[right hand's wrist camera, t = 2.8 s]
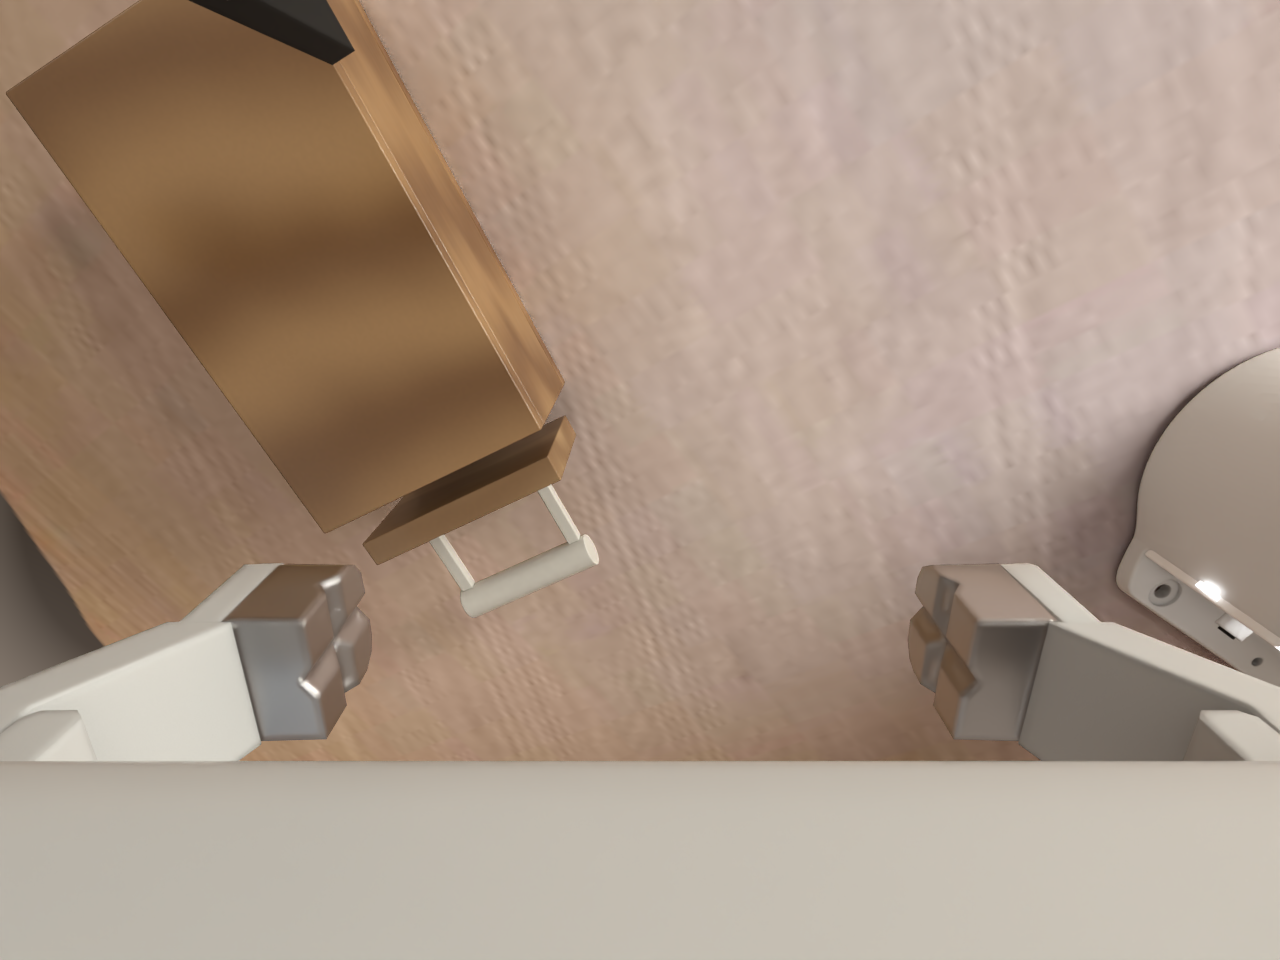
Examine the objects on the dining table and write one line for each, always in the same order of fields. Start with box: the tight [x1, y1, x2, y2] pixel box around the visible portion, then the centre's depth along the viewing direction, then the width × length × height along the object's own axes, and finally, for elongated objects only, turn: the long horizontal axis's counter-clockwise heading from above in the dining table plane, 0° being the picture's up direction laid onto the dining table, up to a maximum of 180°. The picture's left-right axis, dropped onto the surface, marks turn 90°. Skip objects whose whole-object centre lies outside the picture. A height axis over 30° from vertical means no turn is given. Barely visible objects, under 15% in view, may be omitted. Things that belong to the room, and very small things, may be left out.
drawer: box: [363, 416, 599, 618], centre depth 31 cm, size 23×9×6 cm, turn 26°
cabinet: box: [6, 0, 565, 533], centre depth 29 cm, size 18×11×8 cm, turn 26°
